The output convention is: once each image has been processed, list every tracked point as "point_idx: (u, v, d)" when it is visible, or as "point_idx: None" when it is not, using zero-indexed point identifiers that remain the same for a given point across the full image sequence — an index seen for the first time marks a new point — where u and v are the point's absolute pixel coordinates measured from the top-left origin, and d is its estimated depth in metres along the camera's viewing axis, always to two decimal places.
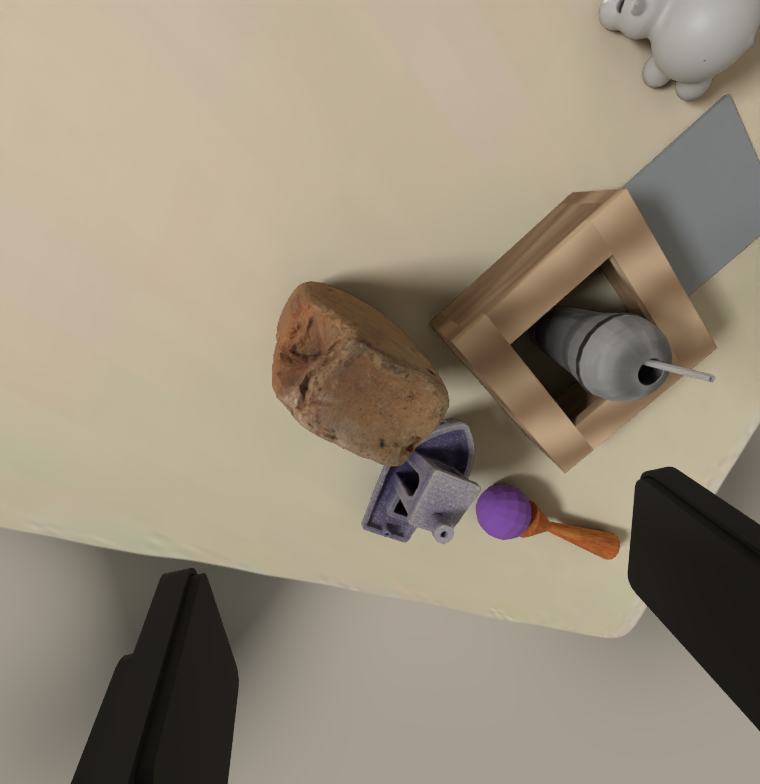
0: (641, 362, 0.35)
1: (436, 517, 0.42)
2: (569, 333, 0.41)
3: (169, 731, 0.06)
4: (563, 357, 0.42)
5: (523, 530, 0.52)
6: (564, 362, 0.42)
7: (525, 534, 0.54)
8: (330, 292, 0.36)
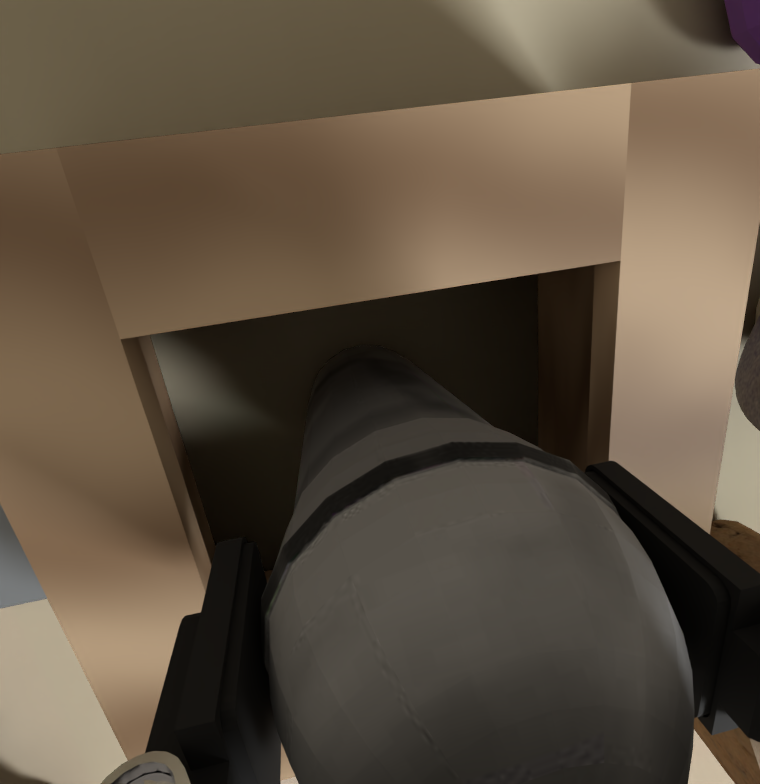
0: None
1: None
2: None
3: (243, 673, 0.07)
4: None
5: None
6: None
7: None
8: None
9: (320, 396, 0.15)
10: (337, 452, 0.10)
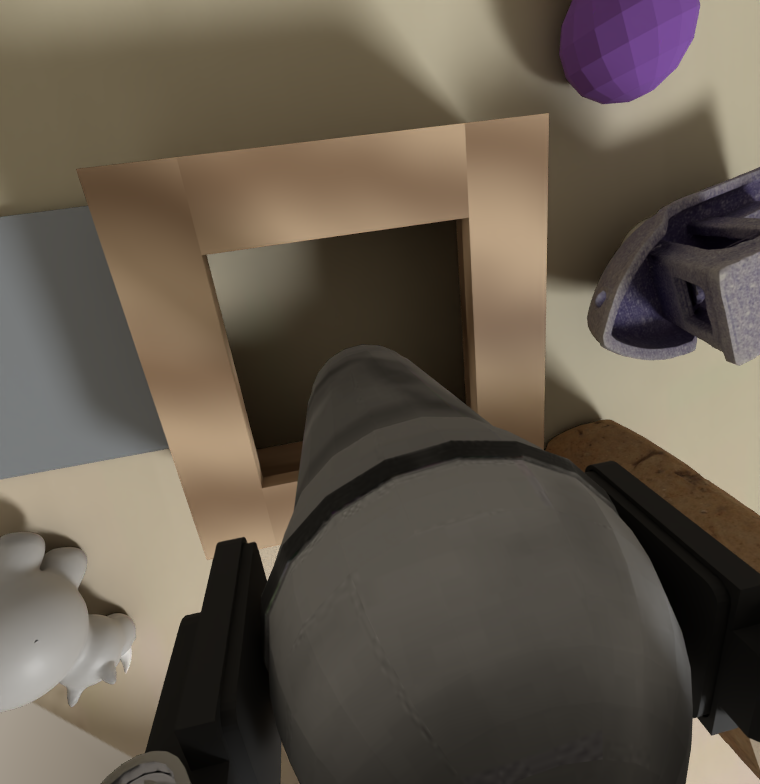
0: None
1: None
2: None
3: (243, 673, 0.07)
4: None
5: None
6: None
7: None
8: None
9: (320, 395, 0.15)
10: (337, 451, 0.10)
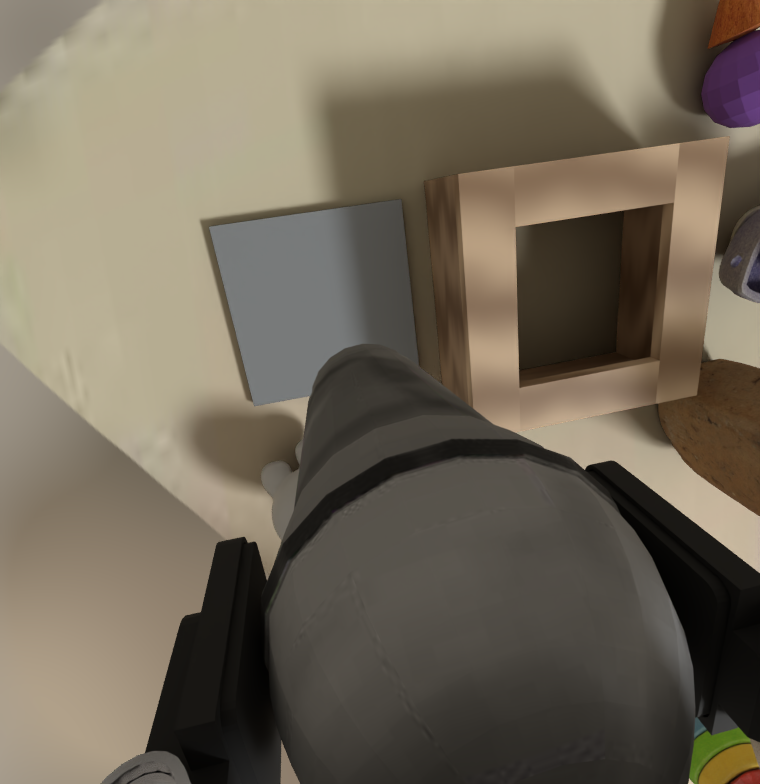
0: None
1: None
2: None
3: (243, 674, 0.07)
4: None
5: None
6: None
7: None
8: (734, 494, 0.41)
9: (320, 394, 0.15)
10: (337, 450, 0.10)
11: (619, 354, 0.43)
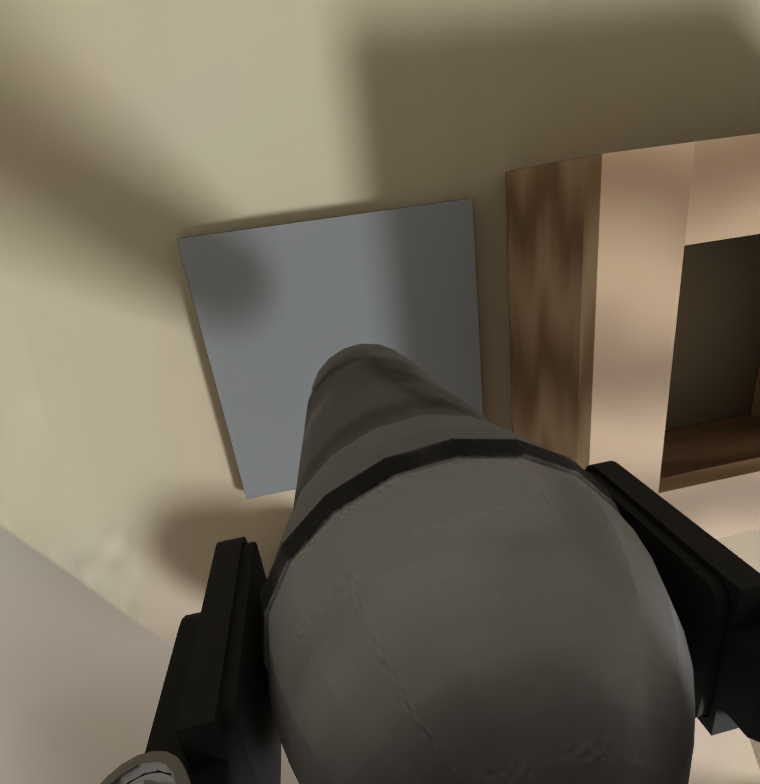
0: None
1: None
2: None
3: (243, 673, 0.07)
4: None
5: None
6: None
7: None
8: None
9: (320, 394, 0.15)
10: (337, 449, 0.10)
11: (758, 418, 0.31)
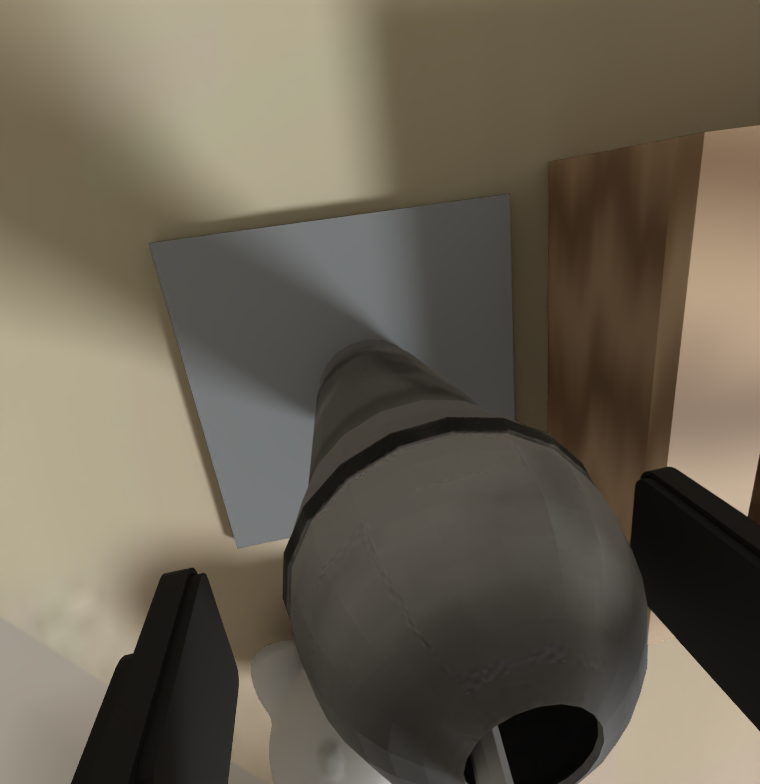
0: None
1: None
2: None
3: (169, 731, 0.06)
4: None
5: None
6: None
7: None
8: None
9: (329, 386, 0.17)
10: (347, 431, 0.12)
11: None
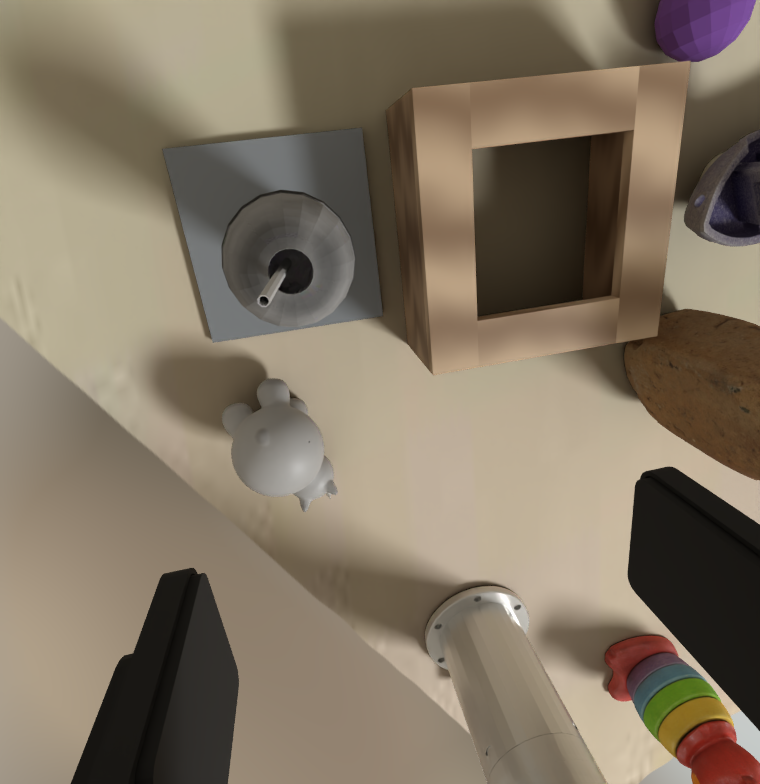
0: (298, 295, 0.23)
1: None
2: None
3: (170, 731, 0.06)
4: None
5: None
6: None
7: None
8: (694, 441, 0.41)
9: None
10: None
11: None
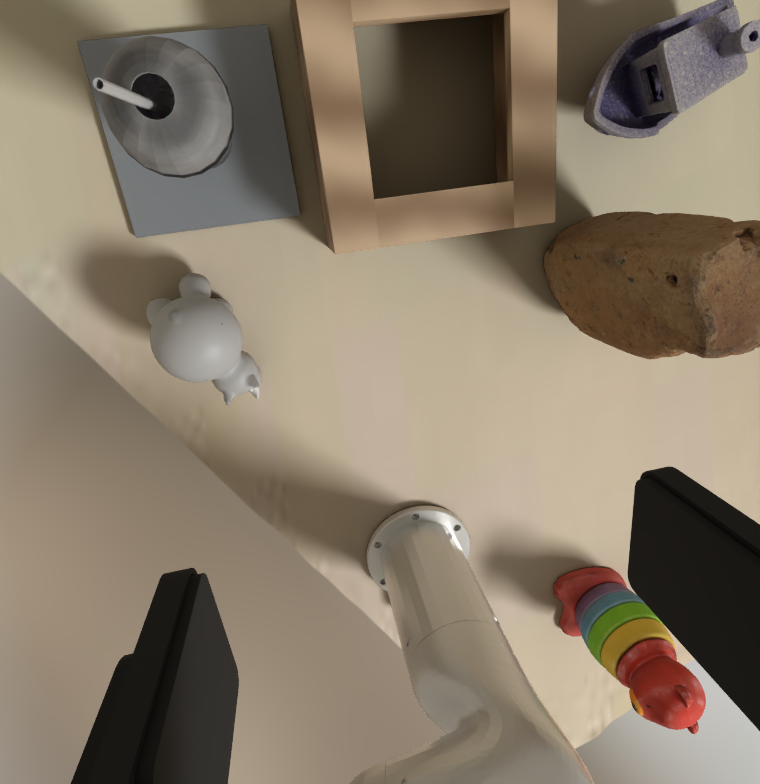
0: (163, 121, 0.25)
1: (728, 54, 0.34)
2: None
3: (169, 732, 0.06)
4: None
5: None
6: None
7: None
8: (603, 334, 0.43)
9: None
10: None
11: None
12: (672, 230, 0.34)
